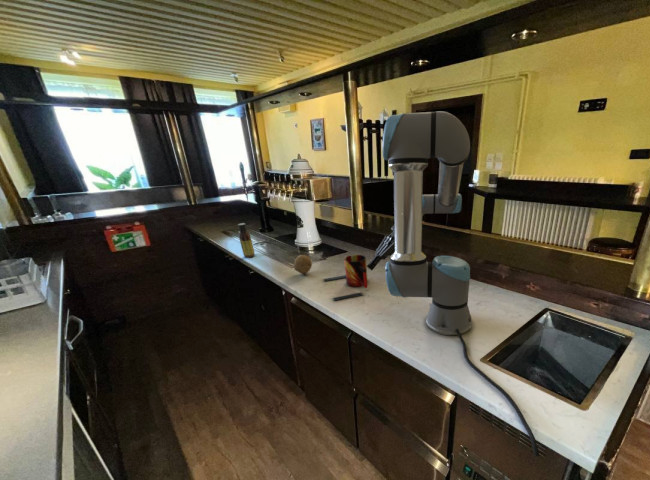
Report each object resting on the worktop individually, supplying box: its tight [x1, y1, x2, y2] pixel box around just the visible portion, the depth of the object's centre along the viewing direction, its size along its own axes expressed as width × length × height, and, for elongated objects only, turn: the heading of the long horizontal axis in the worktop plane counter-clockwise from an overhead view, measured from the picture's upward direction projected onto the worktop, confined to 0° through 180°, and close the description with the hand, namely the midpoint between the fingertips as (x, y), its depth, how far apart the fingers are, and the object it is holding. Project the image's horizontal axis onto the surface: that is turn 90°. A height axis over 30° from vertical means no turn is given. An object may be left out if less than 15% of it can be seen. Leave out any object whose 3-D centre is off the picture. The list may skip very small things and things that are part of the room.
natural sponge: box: [293, 254, 313, 275], centre depth 150 cm, size 9×9×10 cm
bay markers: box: [323, 274, 363, 302], centre depth 136 cm, size 24×12×1 cm, turn 20°
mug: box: [343, 254, 369, 289], centre depth 136 cm, size 10×14×12 cm
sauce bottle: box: [237, 222, 256, 258], centre depth 178 cm, size 6×6×20 cm
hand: (369, 268), depth 137 cm, fingers closed
